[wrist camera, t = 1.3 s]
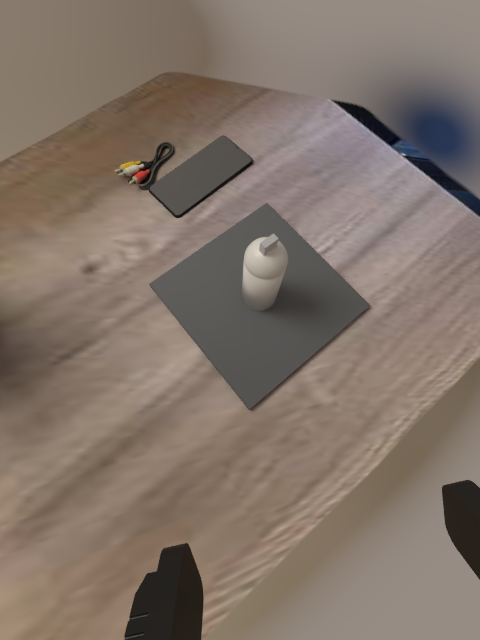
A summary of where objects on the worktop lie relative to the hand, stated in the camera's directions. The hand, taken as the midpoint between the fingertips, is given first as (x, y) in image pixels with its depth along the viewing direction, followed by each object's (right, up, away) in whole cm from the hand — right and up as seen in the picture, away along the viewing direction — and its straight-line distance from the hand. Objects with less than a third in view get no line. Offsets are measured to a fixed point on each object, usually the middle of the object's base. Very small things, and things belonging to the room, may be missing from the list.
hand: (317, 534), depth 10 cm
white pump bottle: (0, +10, +30) cm, 32 cm away
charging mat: (0, +10, +31) cm, 32 cm away
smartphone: (-8, +28, +37) cm, 47 cm away
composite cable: (-15, +29, +37) cm, 50 cm away
